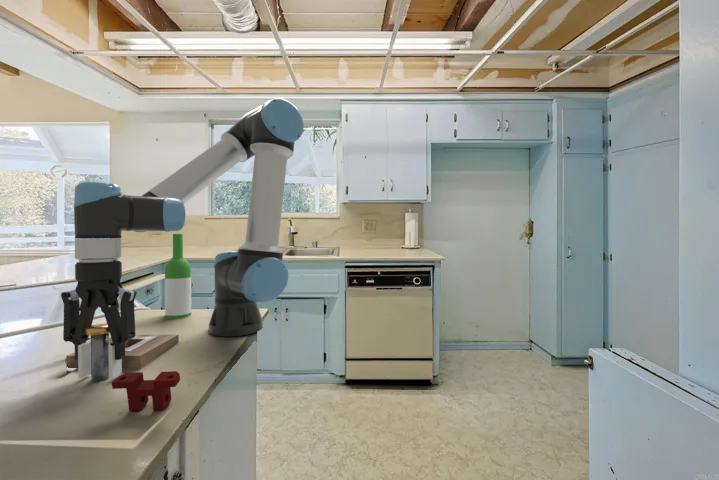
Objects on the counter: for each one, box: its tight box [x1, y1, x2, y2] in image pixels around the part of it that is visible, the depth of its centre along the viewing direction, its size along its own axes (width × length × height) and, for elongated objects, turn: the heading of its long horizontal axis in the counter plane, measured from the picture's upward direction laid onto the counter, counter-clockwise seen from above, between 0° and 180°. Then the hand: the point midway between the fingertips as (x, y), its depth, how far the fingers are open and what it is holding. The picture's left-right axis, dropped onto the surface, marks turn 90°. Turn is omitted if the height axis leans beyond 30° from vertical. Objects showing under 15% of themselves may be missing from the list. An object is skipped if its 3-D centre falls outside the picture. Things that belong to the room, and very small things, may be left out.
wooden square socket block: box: [65, 333, 180, 370], centre depth 83 cm, size 16×16×4 cm
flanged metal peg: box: [85, 322, 110, 383], centre depth 70 cm, size 5×5×11 cm
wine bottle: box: [164, 233, 192, 319], centre depth 116 cm, size 8×8×30 cm
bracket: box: [110, 370, 181, 412], centre depth 59 cm, size 3×6×10 cm
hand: (100, 375), depth 70 cm, fingers open, 5 cm apart
